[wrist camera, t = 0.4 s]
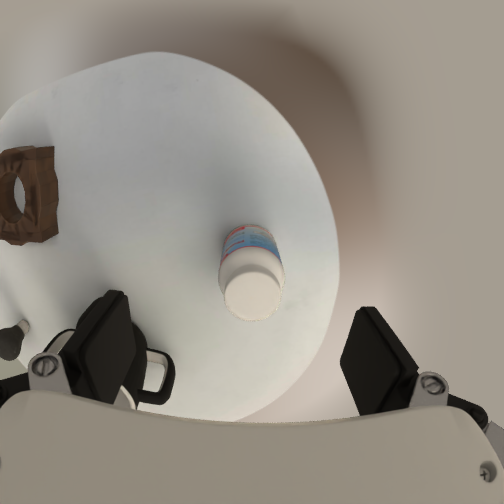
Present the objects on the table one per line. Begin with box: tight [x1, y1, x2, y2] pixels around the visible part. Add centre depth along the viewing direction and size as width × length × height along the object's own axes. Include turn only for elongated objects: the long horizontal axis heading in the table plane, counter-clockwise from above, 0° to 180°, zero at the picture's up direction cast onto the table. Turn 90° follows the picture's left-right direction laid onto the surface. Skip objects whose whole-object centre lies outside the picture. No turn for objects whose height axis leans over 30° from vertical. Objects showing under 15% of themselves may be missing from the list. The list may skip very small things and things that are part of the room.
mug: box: [43, 297, 175, 410], centre depth 31 cm, size 16×16×12 cm
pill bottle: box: [218, 225, 285, 321], centre depth 27 cm, size 6×6×11 cm
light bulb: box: [0, 320, 29, 361], centre depth 31 cm, size 6×6×10 cm
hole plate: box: [0, 146, 59, 246], centre depth 26 cm, size 13×13×4 cm
